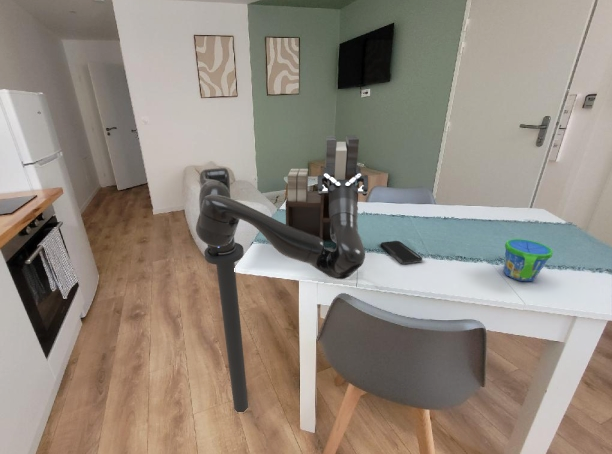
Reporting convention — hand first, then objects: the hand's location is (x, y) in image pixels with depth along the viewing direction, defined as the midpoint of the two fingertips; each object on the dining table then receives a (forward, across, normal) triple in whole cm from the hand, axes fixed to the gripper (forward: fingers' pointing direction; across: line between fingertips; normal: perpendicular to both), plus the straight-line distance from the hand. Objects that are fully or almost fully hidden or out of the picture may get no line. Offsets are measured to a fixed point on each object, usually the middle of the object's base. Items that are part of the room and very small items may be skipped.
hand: (341, 167), depth 88 cm
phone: (-9, +23, -33) cm, 41 cm away
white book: (+4, 0, -6) cm, 7 cm away
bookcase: (-7, -6, -34) cm, 36 cm away
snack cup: (-19, +55, -28) cm, 64 cm away
